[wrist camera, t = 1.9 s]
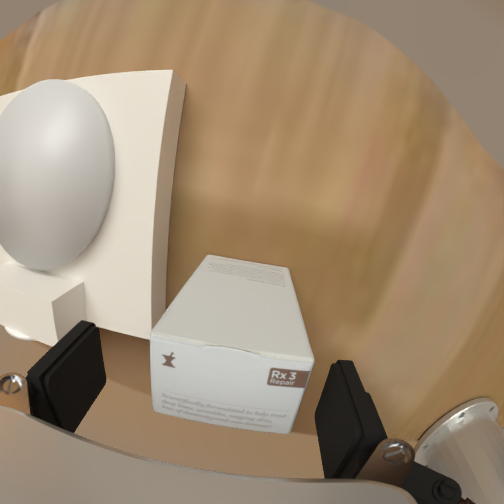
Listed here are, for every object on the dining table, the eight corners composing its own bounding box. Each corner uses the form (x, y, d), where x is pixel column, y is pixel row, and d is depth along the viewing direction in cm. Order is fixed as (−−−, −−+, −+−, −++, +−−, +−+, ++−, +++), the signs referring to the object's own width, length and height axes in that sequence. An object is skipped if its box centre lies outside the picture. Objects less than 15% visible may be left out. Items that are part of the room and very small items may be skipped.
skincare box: (201, 306, 23) (145, 417, 11) (207, 249, 21) (139, 331, 10) (282, 319, 22) (289, 443, 11) (293, 262, 21) (317, 362, 10)
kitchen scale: (186, 83, 19) (146, 43, 11) (165, 325, 23) (128, 381, 16) (5, 104, 19) (-49, 97, 12) (2, 281, 24) (-46, 307, 16)
